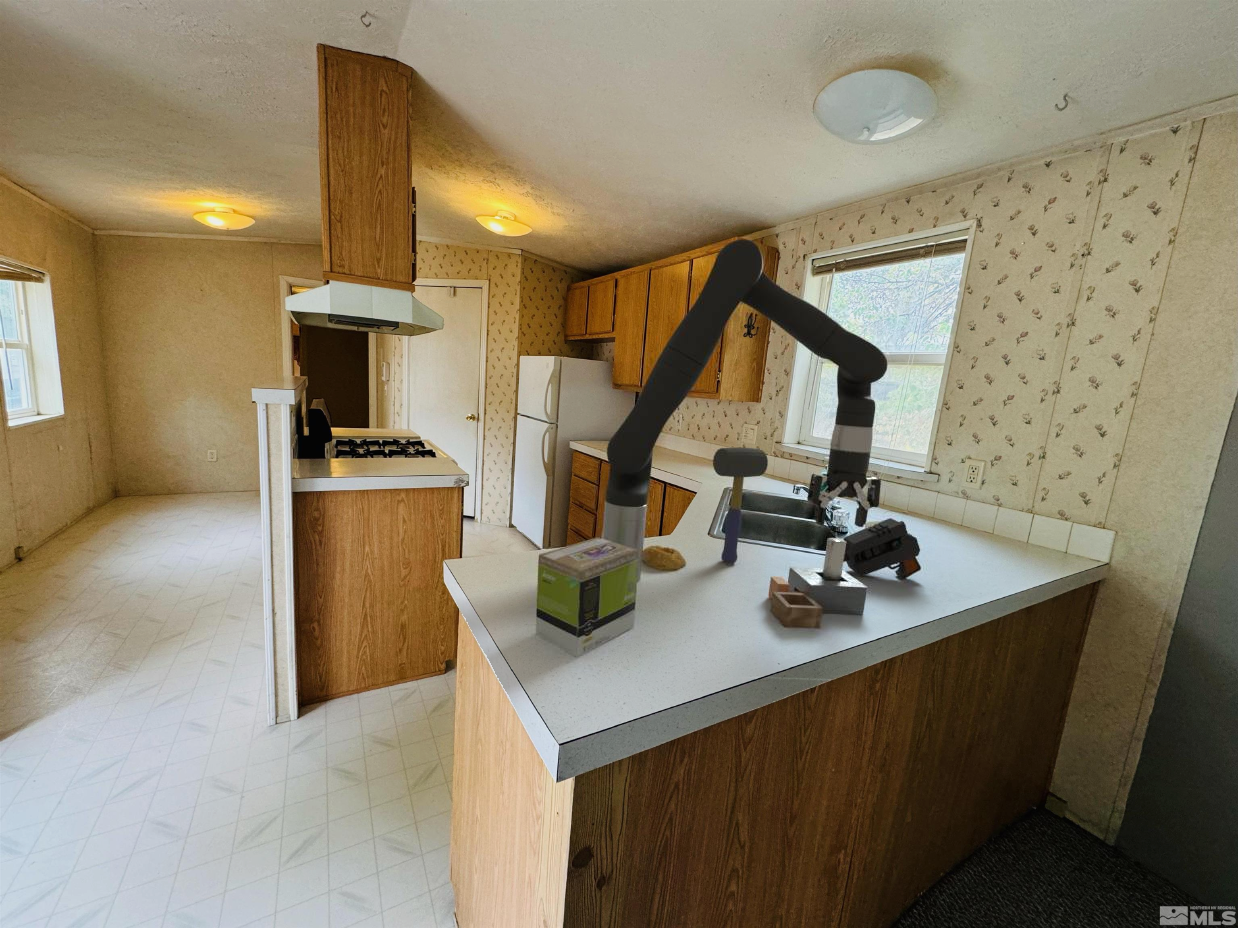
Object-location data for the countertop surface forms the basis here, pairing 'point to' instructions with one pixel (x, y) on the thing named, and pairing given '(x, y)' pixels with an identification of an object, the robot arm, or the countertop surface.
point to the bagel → (663, 558)
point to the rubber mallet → (737, 488)
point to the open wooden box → (796, 610)
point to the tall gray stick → (834, 559)
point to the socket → (829, 590)
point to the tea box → (586, 594)
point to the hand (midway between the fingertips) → (839, 525)
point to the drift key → (779, 586)
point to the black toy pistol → (883, 549)
